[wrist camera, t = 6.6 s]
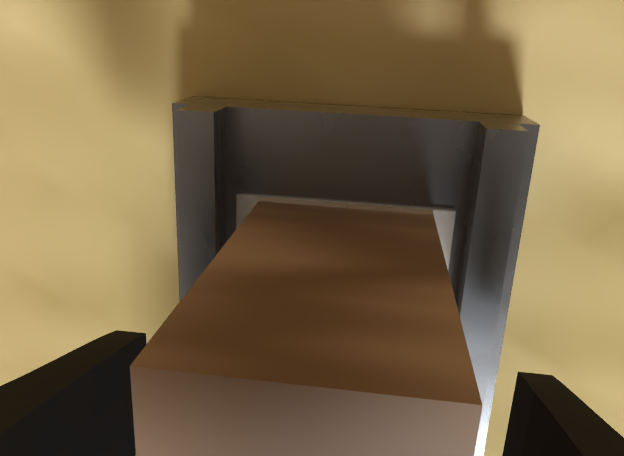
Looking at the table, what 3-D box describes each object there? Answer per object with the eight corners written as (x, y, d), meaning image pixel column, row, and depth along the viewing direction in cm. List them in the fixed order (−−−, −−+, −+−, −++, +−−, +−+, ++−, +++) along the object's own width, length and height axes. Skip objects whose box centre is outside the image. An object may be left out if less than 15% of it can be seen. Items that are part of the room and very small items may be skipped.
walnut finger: (433, 214, 13) (482, 405, 6) (408, 422, 15) (426, 741, 8) (258, 201, 13) (130, 365, 7) (255, 404, 15) (153, 693, 8)
